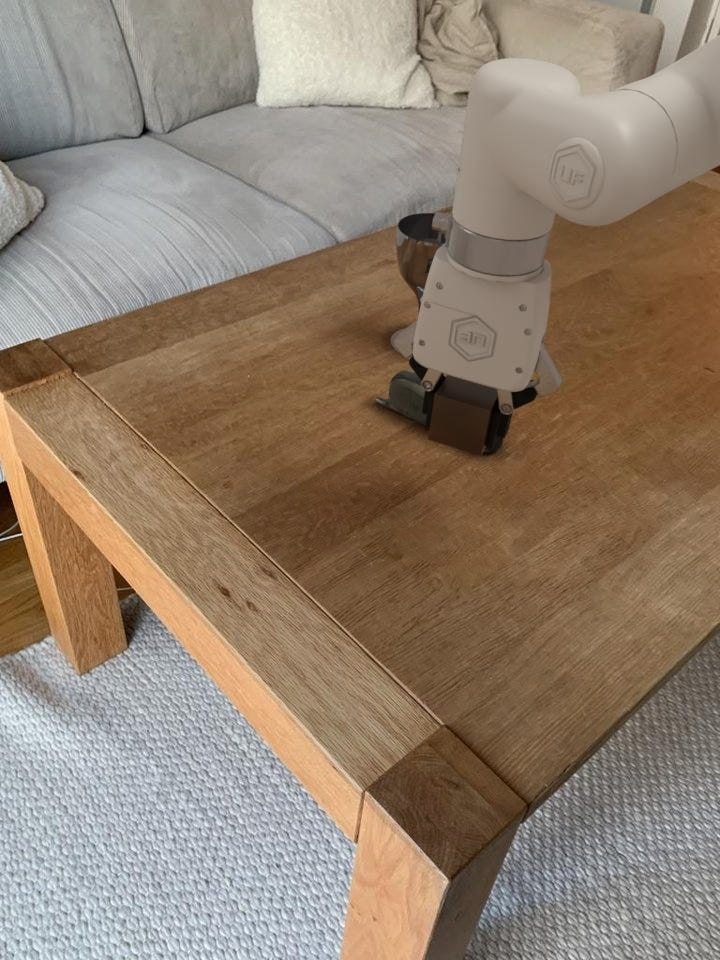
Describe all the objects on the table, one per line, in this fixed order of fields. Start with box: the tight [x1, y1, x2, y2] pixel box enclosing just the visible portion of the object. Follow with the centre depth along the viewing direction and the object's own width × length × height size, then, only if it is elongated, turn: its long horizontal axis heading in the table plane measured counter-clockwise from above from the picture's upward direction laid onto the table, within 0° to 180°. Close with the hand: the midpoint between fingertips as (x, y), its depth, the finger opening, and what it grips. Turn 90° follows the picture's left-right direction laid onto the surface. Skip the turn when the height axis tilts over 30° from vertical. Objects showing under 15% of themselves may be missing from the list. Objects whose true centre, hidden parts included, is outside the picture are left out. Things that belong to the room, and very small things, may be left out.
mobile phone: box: [374, 370, 504, 454], centre depth 87 cm, size 5×3×15 cm
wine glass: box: [389, 212, 446, 354], centre depth 97 cm, size 8×8×15 cm
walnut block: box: [427, 375, 498, 457], centre depth 73 cm, size 5×5×5 cm
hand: (463, 428), depth 74 cm, fingers closed on walnut block, 5 cm apart
